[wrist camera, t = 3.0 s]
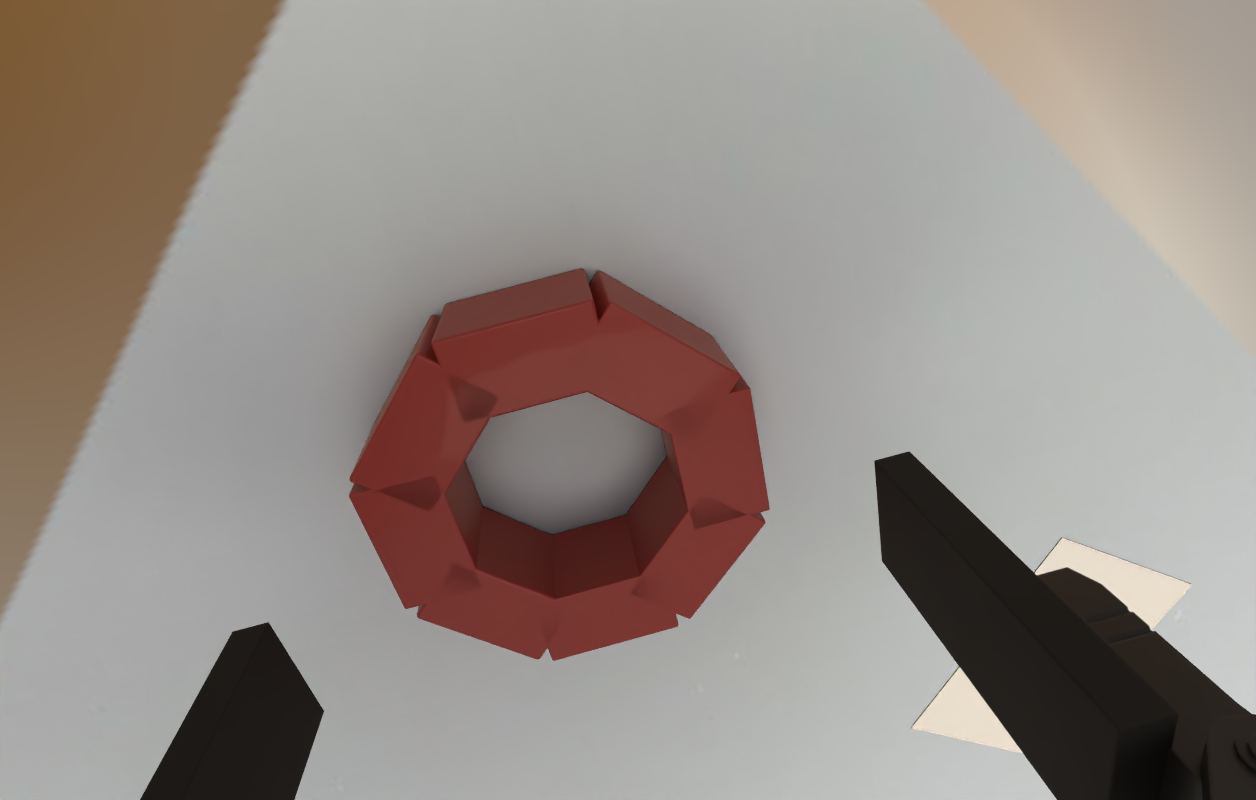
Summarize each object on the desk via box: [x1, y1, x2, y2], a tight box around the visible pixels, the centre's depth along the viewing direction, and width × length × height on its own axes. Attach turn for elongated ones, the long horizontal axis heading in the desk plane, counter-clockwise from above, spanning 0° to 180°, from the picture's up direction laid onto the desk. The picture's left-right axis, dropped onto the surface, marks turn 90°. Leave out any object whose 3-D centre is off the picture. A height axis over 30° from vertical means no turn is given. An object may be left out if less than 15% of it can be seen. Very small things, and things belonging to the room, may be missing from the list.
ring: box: [349, 269, 769, 661], centre depth 19 cm, size 11×11×3 cm
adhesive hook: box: [912, 538, 1192, 753], centre depth 26 cm, size 3×3×3 cm
